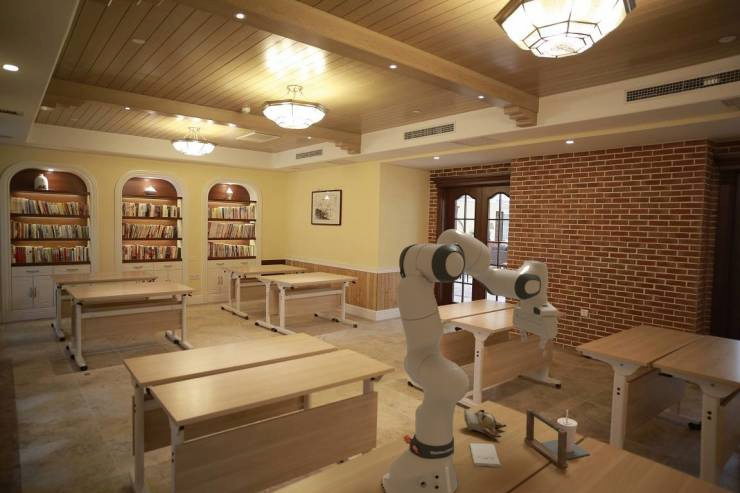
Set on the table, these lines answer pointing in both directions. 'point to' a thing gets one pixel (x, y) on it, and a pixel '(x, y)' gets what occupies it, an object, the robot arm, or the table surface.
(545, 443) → the mat
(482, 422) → the ceramic sculpture
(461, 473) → the table surface
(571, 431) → the smoothie
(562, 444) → the bar hurdle
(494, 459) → the external hard drive
